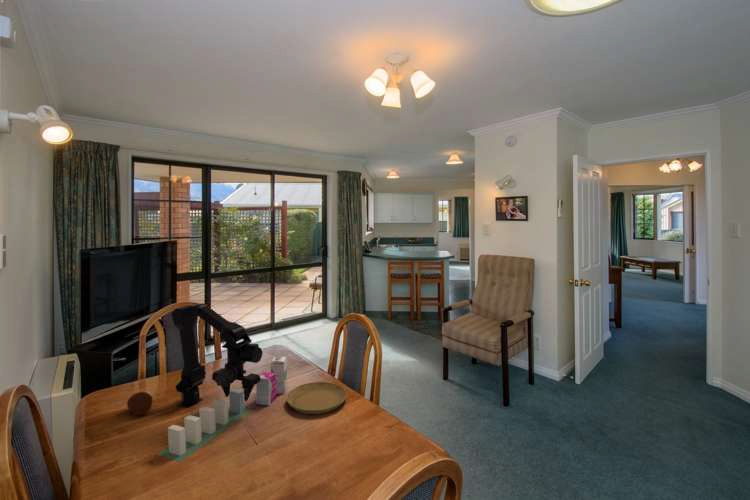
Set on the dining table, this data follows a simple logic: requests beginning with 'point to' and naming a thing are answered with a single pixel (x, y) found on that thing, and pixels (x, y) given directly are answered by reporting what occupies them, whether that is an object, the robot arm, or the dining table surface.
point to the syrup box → (280, 373)
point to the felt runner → (206, 436)
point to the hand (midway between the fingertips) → (236, 398)
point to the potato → (140, 403)
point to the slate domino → (236, 401)
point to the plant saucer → (316, 397)
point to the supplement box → (266, 389)
